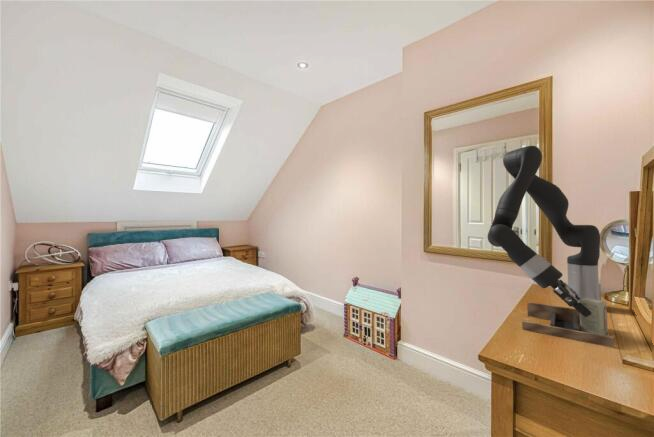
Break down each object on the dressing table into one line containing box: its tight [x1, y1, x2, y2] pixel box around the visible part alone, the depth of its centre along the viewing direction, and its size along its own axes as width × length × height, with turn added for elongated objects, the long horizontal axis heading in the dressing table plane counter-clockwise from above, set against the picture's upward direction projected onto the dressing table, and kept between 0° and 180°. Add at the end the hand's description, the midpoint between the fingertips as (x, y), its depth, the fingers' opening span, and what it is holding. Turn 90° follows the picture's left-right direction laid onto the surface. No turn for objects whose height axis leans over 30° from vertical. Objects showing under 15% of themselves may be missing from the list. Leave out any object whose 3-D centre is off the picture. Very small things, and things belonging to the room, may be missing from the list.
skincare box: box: [579, 298, 609, 336], centre depth 84 cm, size 5×4×10 cm
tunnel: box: [521, 301, 615, 348], centre depth 89 cm, size 20×18×5 cm
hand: (587, 311), depth 85 cm, fingers open, 8 cm apart
